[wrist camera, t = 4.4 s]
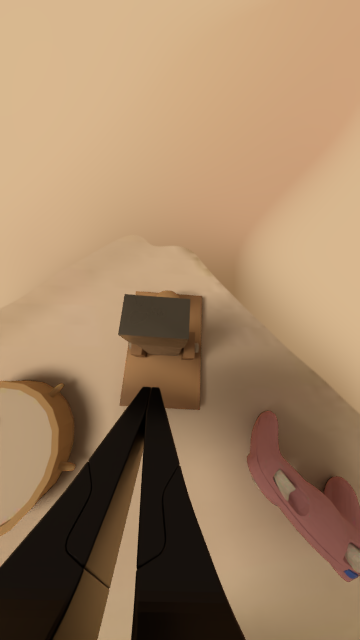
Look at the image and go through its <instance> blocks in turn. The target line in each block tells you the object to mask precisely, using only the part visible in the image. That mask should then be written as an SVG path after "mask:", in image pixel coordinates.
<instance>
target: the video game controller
mask: <svg viewBox="0 0 360 640" xmlns="http://www.w3.org/2000/svg"><path fill="white" fill-rule="evenodd" d="M247 463H248V467H249V470H250V472H251V475H252V479H253V481H254V483H255V485H256V487H257V488H258V489H259V490H260V491H262V493H263V494H264V495H265V496H266V498H267V499H268V500H269V501H270V502H272V503H273V504H274V505H276V506H278V507H279V508H280V509H281V511H282V512H283V513H284V514H285V516H286V517H287V518H288V519H289V521H290V522H291V523H292V524H293V526H294V527H295V528H296V529H297V530H298V531H299V533H300V534H301V535H302V536H303V537H304V538H305V539H306V540H307V541H308V542H309V544H310V545H311V546H312V547H313V548H314V549H315V550H316V551H317V552H318V553H319V554H320V555H321V556H322V557H323V558H324V559H326V560H327V561H328V562H329V563H330V564H331V566H332V567H333V568H334V570H335V571H336V572H337V573H338V574H339V575H340V576H341V577H342V578H343V579H344V580H345V581H347V582H350V581H352V580H353V579H355V578H357V577H358V576H360V507H359V503H358V499H357V496H356V494H355V492H354V490H353V488H352V487H351V485H350V484H349V483H348V482H347V481H346V480H344V479H343V478H341V477H337V476H336V477H331V479H329V480H328V482H327V484H326V486H325V490H324V494H323V493H322V492H321V491H319V490H318V489H317V488H315V487H314V486H313V485H311V484H310V483H308V482H307V481H305V480H304V479H303V478H302V477H301V475H300V474H299V473H298V472H297V471H296V470H295V469H294V468H293V467H292V466H291V465H290V464H289V463H288V462H287V461H286V460H285V459H284V458H283V457H282V455H281V453H280V450H279V442H278V420H277V417H276V415H275V414H274V413H273V412H271V411H265V412H263V413H261V414H260V416H259V417H258V419H257V420H256V422H255V425H254V427H253V431H252V436H251V446H250V454H249V455H248V456H247Z"/></svg>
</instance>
